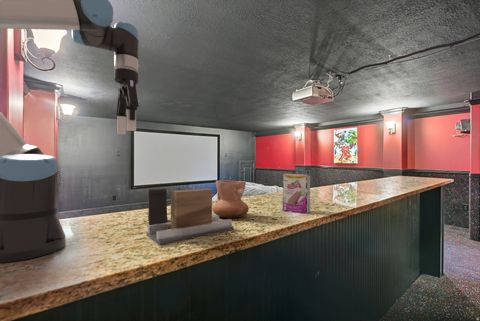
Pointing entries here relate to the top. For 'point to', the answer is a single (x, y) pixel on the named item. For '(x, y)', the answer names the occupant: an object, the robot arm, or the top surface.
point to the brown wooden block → (191, 207)
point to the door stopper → (157, 206)
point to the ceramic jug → (230, 199)
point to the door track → (187, 230)
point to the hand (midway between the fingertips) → (126, 132)
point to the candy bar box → (296, 193)
